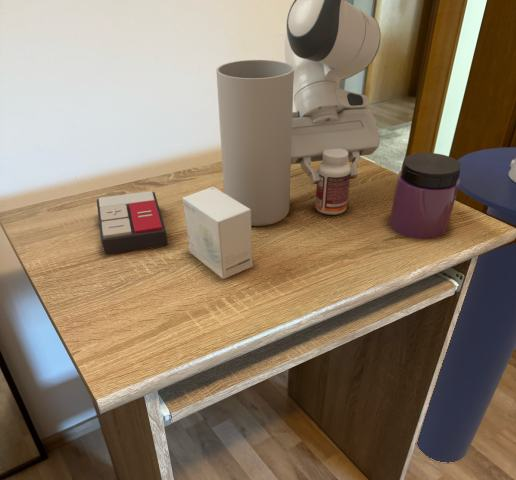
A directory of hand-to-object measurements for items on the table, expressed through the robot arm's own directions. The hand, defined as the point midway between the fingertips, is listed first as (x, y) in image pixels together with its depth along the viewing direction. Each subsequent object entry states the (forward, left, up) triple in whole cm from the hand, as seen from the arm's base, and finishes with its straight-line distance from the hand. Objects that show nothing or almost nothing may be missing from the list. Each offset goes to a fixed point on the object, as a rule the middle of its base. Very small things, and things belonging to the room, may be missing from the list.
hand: (334, 180), depth 91 cm
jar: (-12, +11, -6) cm, 18 cm away
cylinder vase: (+14, -5, -6) cm, 16 cm away
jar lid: (-12, +11, +5) cm, 17 cm away
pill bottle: (0, -1, -6) cm, 6 cm away
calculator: (+38, -7, -6) cm, 39 cm away
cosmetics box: (+26, +9, -6) cm, 28 cm away
